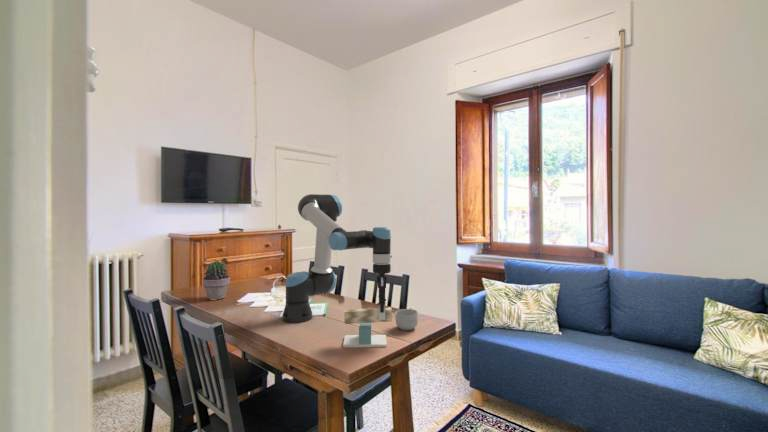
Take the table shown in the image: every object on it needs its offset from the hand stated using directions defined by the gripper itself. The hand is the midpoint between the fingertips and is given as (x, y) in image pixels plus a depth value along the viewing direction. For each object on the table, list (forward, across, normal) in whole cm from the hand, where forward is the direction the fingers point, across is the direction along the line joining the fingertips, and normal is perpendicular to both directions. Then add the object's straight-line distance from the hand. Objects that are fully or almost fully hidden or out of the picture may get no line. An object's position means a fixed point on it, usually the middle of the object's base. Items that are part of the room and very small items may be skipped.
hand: (381, 317), depth 148 cm
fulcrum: (+10, 0, +7) cm, 13 cm away
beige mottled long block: (+1, 0, +6) cm, 6 cm away
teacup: (+11, +18, -13) cm, 25 cm away
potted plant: (+10, +73, +103) cm, 127 cm away
